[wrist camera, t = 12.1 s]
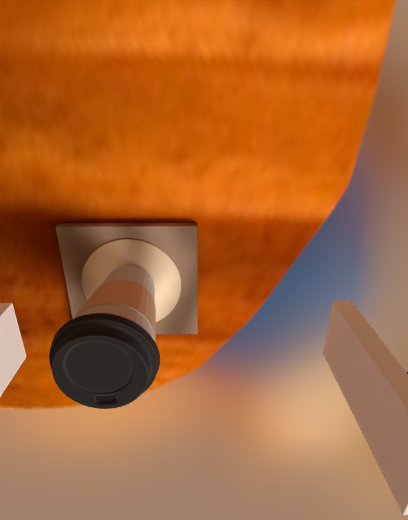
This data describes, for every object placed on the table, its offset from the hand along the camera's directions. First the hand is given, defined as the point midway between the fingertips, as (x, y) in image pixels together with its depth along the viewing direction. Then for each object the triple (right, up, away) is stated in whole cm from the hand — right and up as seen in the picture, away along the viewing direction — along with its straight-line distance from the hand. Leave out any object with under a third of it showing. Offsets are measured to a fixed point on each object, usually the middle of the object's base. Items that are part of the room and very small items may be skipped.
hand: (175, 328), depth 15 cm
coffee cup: (-8, 0, +28) cm, 29 cm away
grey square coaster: (-8, 0, +29) cm, 30 cm away
